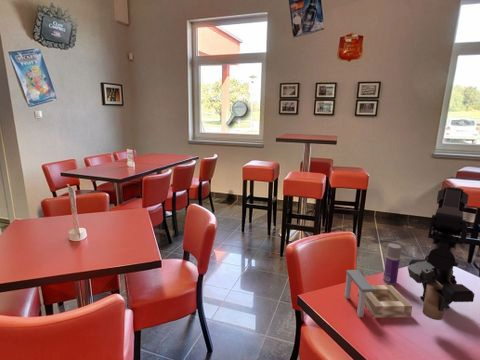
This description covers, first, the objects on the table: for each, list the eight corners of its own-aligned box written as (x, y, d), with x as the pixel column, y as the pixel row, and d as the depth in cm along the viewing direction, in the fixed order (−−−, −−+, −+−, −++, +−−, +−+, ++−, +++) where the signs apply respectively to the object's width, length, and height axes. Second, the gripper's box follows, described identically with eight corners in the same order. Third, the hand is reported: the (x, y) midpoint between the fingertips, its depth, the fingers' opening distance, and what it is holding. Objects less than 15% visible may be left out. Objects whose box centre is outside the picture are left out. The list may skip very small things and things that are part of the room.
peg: (434, 309, 89) (439, 282, 87) (446, 319, 84) (451, 291, 82) (418, 309, 88) (422, 282, 87) (430, 320, 83) (434, 291, 82)
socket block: (390, 295, 105) (391, 285, 104) (410, 317, 93) (412, 305, 92) (357, 295, 104) (358, 285, 103) (374, 317, 92) (375, 306, 92)
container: (398, 285, 111) (403, 249, 108) (384, 284, 112) (389, 247, 109) (394, 279, 116) (399, 243, 113) (381, 277, 116) (386, 242, 114)
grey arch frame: (354, 295, 104) (357, 269, 102) (371, 317, 92) (374, 289, 90) (343, 295, 104) (346, 270, 102) (358, 317, 92) (362, 289, 90)
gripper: (395, 242, 91) (389, 287, 94) (438, 272, 73) (429, 327, 76) (430, 242, 92) (422, 287, 95) (480, 272, 73) (470, 326, 76)
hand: (433, 305), depth 85 cm, fingers closed on peg, 5 cm apart
